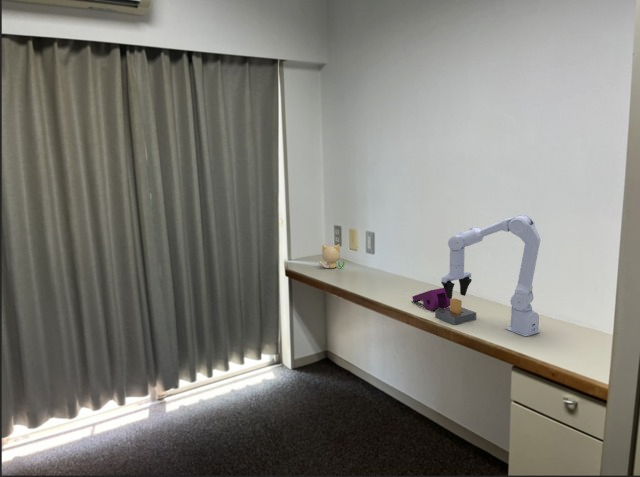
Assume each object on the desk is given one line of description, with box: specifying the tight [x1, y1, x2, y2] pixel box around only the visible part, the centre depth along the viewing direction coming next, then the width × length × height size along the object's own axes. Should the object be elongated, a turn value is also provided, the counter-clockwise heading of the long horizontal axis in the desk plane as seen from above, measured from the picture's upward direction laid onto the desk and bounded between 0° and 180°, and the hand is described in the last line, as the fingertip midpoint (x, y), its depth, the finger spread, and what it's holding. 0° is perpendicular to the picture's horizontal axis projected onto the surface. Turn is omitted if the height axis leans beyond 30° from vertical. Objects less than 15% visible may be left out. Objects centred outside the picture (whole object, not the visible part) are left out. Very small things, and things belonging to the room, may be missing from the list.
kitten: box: [318, 243, 345, 269], centre depth 285 cm, size 15×10×15 cm
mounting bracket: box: [412, 287, 450, 312], centre depth 211 cm, size 10×8×18 cm
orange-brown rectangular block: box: [449, 297, 463, 314], centre depth 194 cm, size 4×2×8 cm, turn 29°
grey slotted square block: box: [434, 306, 477, 326], centre depth 194 cm, size 11×12×3 cm
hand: (456, 296), depth 193 cm, fingers open, 7 cm apart
